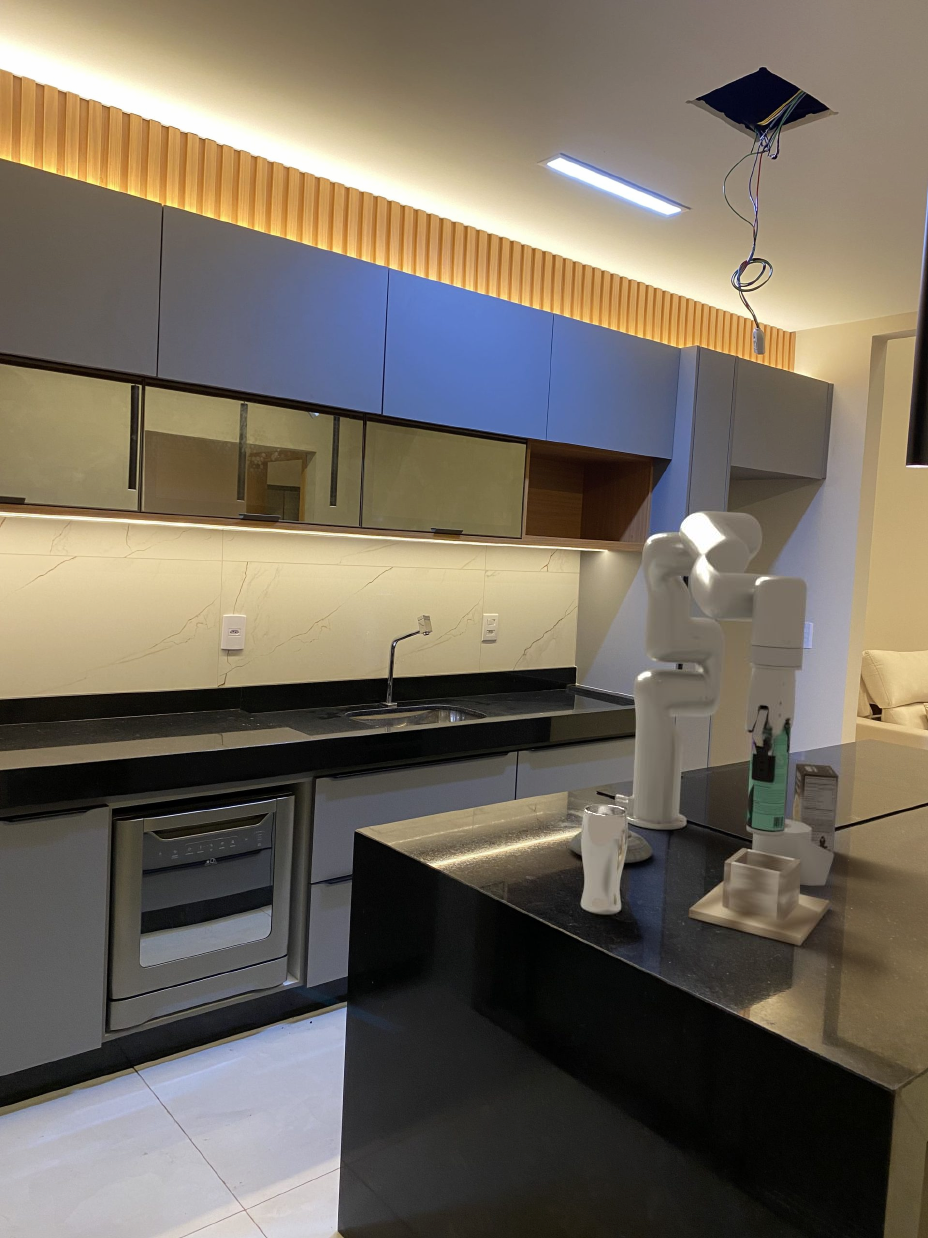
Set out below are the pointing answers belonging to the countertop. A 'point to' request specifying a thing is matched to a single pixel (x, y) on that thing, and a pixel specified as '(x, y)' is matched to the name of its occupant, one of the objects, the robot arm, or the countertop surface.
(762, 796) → the spray can
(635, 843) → the flying saucer
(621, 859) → the beer glass
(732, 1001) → the countertop surface
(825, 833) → the coffee box
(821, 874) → the toilet tissue
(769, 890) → the can caddy
